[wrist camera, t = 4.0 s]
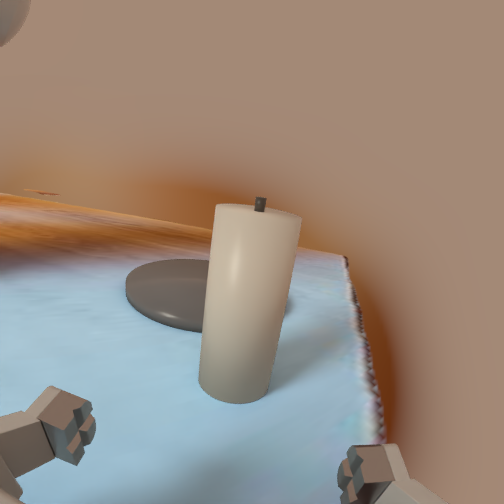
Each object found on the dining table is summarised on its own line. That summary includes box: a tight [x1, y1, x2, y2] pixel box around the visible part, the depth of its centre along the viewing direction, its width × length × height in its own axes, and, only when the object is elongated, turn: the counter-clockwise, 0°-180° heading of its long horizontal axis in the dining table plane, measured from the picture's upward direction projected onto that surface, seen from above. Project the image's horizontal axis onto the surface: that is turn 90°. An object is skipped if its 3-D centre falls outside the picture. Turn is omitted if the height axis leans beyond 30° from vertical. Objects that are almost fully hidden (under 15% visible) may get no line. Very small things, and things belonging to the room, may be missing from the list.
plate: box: [126, 259, 209, 333], centre depth 36 cm, size 18×18×1 cm
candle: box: [198, 197, 302, 404], centre depth 20 cm, size 5×5×13 cm
